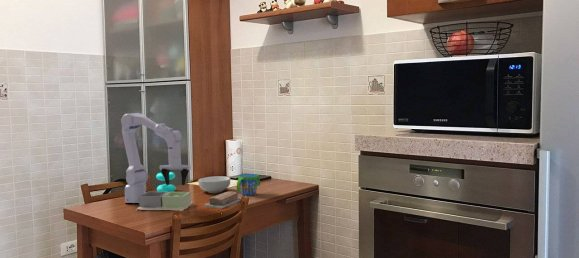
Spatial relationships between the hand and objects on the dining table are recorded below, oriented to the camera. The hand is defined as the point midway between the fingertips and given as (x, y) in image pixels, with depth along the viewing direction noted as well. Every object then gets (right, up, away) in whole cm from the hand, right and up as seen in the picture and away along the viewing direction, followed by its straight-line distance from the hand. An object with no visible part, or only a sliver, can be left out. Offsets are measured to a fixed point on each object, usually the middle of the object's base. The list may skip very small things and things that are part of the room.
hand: (175, 184), depth 233 cm
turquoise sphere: (-13, -8, +35) cm, 38 cm away
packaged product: (+22, -10, +5) cm, 25 cm away
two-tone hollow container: (-5, -11, 0) cm, 12 cm away
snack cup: (+33, -8, +23) cm, 41 cm away
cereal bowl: (+14, -8, +32) cm, 35 cm away
